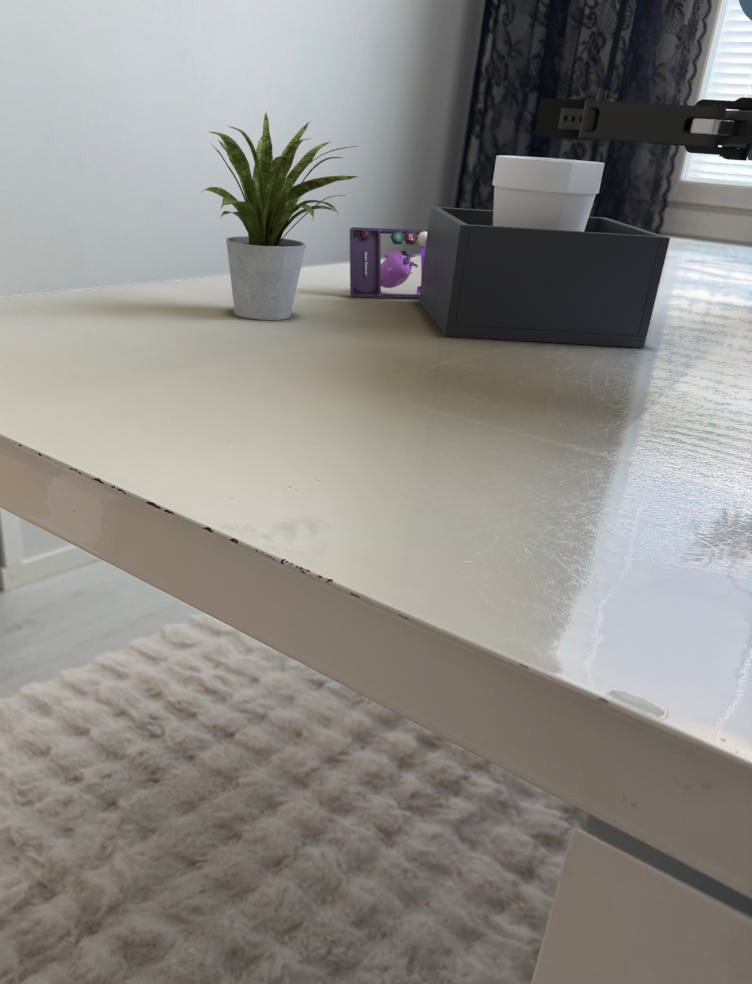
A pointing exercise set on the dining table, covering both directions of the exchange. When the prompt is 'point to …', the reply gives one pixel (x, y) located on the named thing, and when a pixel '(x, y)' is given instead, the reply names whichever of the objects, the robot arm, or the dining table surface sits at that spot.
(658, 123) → the robot arm
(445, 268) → the dark grey open box
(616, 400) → the dining table surface
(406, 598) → the dining table surface
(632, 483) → the dining table surface
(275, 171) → the house plant
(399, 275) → the purple cardboard box
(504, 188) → the white flower pot
